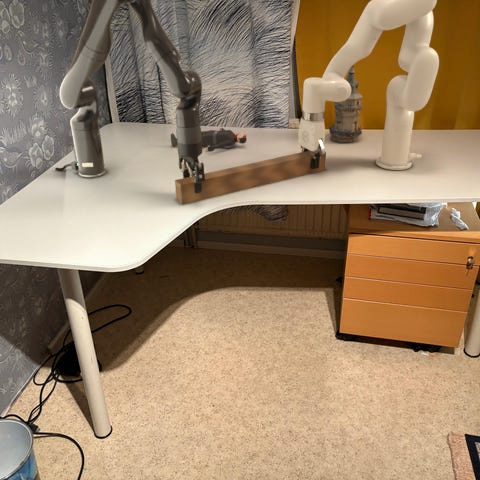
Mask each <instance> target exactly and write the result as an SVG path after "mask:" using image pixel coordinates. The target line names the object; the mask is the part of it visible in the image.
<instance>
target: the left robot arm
mask: <svg viewBox="0 0 480 480" xmlns="http://www.w3.org/2000/svg"><path fill="white" fill-rule="evenodd" d="M127 4H128V5H129V7H130V8H131V9H132V10H133V12H134V13H135V15H136V17H137V19H138V21H139V25H140V30H141V34H142V39H143V42H144V45H145V47H146V50H147V51H148V53H149V54H150V56H151V58H152V59H153V60H154V62H155V63H156V64H157V66H158V67H159V69H160V72H161V75H162V77H163V79H164V80H163V81H164V83H165V85H166V87H167V89H168V90H169V91H170V93H171V94H172V95H173V96H174V97H175V98H177V99H179V103H178V105H177V106H176V108H175V121H176V129H177V130H176V138H177V146H176V147H177V154H178V169H179V170H181V173H182V178H187V177H191V176H192V177H193V180H194V190H195V193H196V194H197V193H201V192H202V184H201V182H204V181H205V164H204V162H200V160H199V156H201V155H202V154H203V145H202V136H201V132H202V128H201V118H200V106H201V101H202V91H203V84H202V79H201V76H200V74H199V73H198V72H197V71H196V70H194V69H185V70H183V69H182V66H181V65H180V62H181V60H182V55H181V54H180V52H179V50H178V49H177V47H176V46H175V44H174V42H173V41H172V40H171V38H170V36H169V35H168V34H167V32H166V30H165V29H164V27H163V25H162V24H161V21H160V20H159V18H158V15H157V14H156V12H155V10H154V7H153V5H152V4H151V1H150V0H91V3H90V8H89V12H88V15H87V18H86V22H85V25H84V27H83V30H82V33H81V35H80V38H79V41H78V44H77V47H76V50H75V53H74V56H73V58H72V61H71V64H70V66H69V68H68V70H67V72H66V74H65V77H64V78H63V80H62V82H61V85H60V87H59V99H60V102H61V104H62V105H63V107H64V108H66V109H69V110H77V112H76V113H75V114H74V115H73V116H72V117H71V119H70V120H69V121H70V123H69V124H70V128H71V134H72V139H73V145H74V147H73V148H72V151H73V157H74V161H71V162H70V163H67V164H65V165H64V166H63V167H54V168H55V171H60V172H61V171H64V170H66V168H68V167H71V170H73V171H76V174H78V175H79V177H82V178H87V179H88V178H90V179H91V178H97V177H100V176H103V175H105V174H106V172H107V171H106V165H105V158H104V151H103V145H102V137H101V130H100V124H99V120H100V109H99V108H100V107H99V98H98V97H99V96H98V90H97V88H96V85H95V83H94V82H93V80H92V79H91V78H92V77H93V76H94V75H95V74H96V72H97V71H99V69H101V68H102V66H103V65H104V64H105V62H106V61H107V60H108V58H109V55H110V53H111V50H112V48H113V44H114V36H113V35H114V34H113V31H112V27H111V26H112V21H113V19H114V16H115V14H116V12H117V10H118V9H119V8H120V7H121V6H124V5H127ZM201 175H202V176H201ZM195 176H196V177H195Z"/></svg>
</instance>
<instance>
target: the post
mask: <svg viewBox="0 0 480 480" xmlns="http://www.w3.org/2000/svg"><path fill="white" fill-rule="evenodd" d="M315 153H317V151H315ZM311 158H313V155H312V151H310V150H309V151H305V152H302V151H301V152H296V153H291V154H287V155H282V156H279V157H273V158H269V159H265V160H260V161H256V162H255V161H254V162H251V163H246V164H242V165H237V166H232V167H228V168H224V169H219V170H214V171H211V172H210V171H209V172H206V173H205V172H204V174H205V181H204V182H201V184H202V192H201V193H197V194H196V193H195V190H194V180H193V177H192V176H191V175H190V177H187V178H183V177H182V178H179V179H175V180H174V185H175V196H176V197H175V199H176V201H177V202H178V203H180V204H181V205H186V204H190V203H191V204H192V203H194V202H199V201H202V200H206V199H211V198H216V197H219V196H223V195H227V194H232V193H235V192H240V191H244V190H248V189H251V188H256V187H261V186H264V185H269V184H273V183H277V182H282V181H285V180H290V179H293V178H298V177H301V176H302V177H303V176H306V175H310V174H315V173H318V172H323V171H325V170H326V161H327V160H326V159H327V152H326V151H325V153H324V154H322V156H321V158H320V162H319V168H316V169H311ZM201 176H202V175H201ZM195 177H196V175H195Z"/></svg>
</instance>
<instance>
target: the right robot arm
mask: <svg viewBox="0 0 480 480" xmlns="http://www.w3.org/2000/svg"><path fill="white" fill-rule="evenodd" d="M437 2H438V0H370V1H368V3H367V4H366V6H365V8H364V10H363V11H362V13H361V15H360V17H359V19H358V21H357V22H356V24H355V26H354V28H353V30H352V32H351V34H350V36H349V37H348V39H347V40H346V41H345V44H343V45H342V46H341V48H340V49H339V50H338V51H337V53H335V54H334V55H333V57H332V58H331V60H330V61H329V63H328V65H327V67H326V69H325V70H324V73H323V75H322V77H316V76H315V77H312V76H311V77H308V78H306V79H304V81H303V86H302V89H303V90H302V110H301V111H302V112H301V117H300V121H299V124H298V134H297V135H298V136H297V144H298V145H299V146H300V148H301V152H305V151H309V150H310V151H312V155H313V158H311V169H316V168H319V162H320V158H321V156H322V154H324V153H325V152H326V149H325V144H326V143H325V142H326V127H325V126H326V125H325V113H326V112H325V110H326V102H332V103H334V102H342V101H345V100H346V99H348V98H349V96H350V94H351V86H350V84H349V83H348V82H347V81H346V79H345V77H346V76H347V74H348V73H349V72H348V71H349V70H350V69H351V67H352V66H353V65H354V66H355V64H356V63H358V62H359V61H361V60H363V59H365V58H367V57H369V56H370V55H371V53H372V52H373V50H374V48H375V46H376V45H377V42H378V41H379V39H380V38H381V36H382V33H384V31H391V30H394V29H397V28H399V27H402V26H404V25H405V30H404V34H403V38H402V43H401V46H400V49H399V54H398V59H397V63H398V66H399V68H400V69H401V70H402V71H405V72H406V73H407V75H406V74H398V75H396V76H394V77H392V78H391V79H390V81H389V83H388V84H387V87H386V93H385V94H386V95H385V97H386V99H385V101H386V111H385V120H384V128H383V136H382V137H383V138H382V144H381V153H380V156H378V157H377V158H376V159H375V164H376V165H377V166H378V167H380V168H382V169H385V170H390V171H403V170H407V169H410V168H411V167H412V161H413V160H416V161H418V160H422V154H421V153H415V152H410V147H411V142H412V141H411V140H412V133H413V126H414V122H415V112H419V111H421V110H422V109H423V108H425V107H426V105H427V104H428V102H429V101H430V98H431V95H432V92H433V88H434V85H435V81H436V79H437V75H438V72H439V68H440V67H439V66H440V58H439V54H438V52H437V51H436V50H435V49H434V48H432V47H430V43H431V40H432V35H433V30H434V24H435V23H434V21H435V20H434V19H435V18H434V12H433V10H434V9H435V7H436V5H437ZM354 66H353V67H354ZM315 151H317V153H315Z"/></svg>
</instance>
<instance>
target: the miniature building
mask: <svg viewBox="0 0 480 480" xmlns="http://www.w3.org/2000/svg"><path fill="white" fill-rule="evenodd" d="M354 66H355V64H354V65H353V66H352V67H351V68H350V69H349V71H348V72H347V74H348V75H347V77H346V79H345V80H346V81H347V82H348V83H349V84H350V86H351V94H350V96H349V98H348V99H346V100H345V101H342V102H333V104H334V124H332V126H331V125H329V126H328V128H329V129H328V131H329V135H331V137H332V141H334V142H338V143H354V142H356V141H357V139H358V138H359V137H360V136H361V135H363V130H362V127H361V125H360V126H359V121H360V116H361V110H362V108H363V103H362V99H363V95H362V94H361V93H360V92H358V87H359V85H360V83H359V81H356V77H355V73H356V71H355V69H354Z"/></svg>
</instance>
